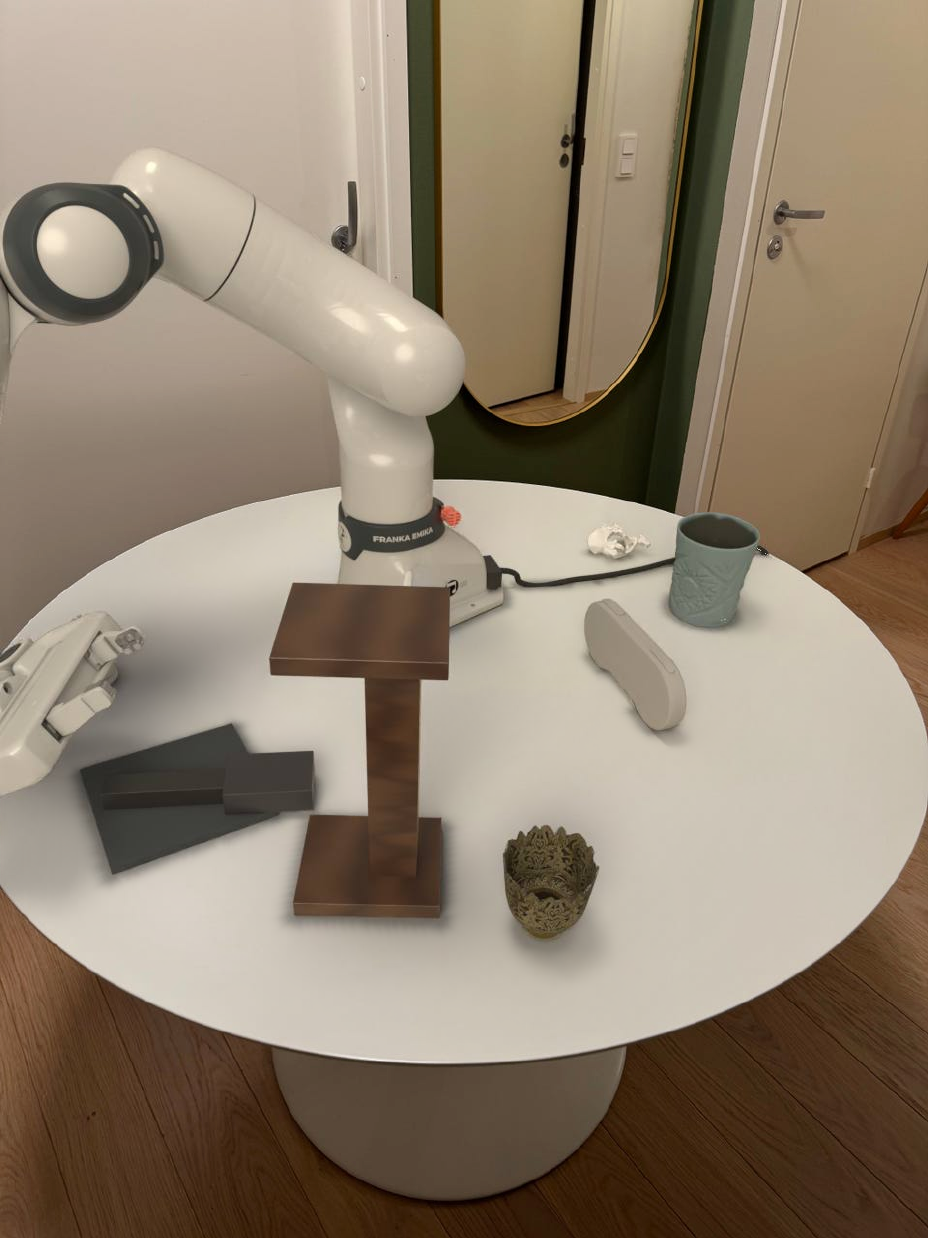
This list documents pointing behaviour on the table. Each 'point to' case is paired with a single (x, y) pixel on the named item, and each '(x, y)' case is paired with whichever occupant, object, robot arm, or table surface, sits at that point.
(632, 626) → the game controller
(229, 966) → the table surface
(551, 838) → the cup
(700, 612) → the teal embossed pot
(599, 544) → the pelvis model
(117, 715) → the table surface
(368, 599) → the stand
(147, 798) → the block with square shaft
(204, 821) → the mat
